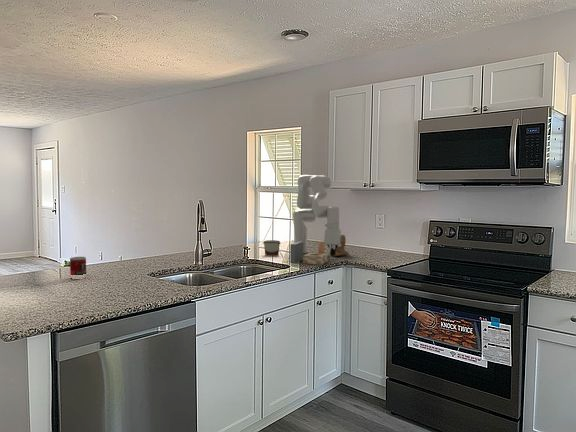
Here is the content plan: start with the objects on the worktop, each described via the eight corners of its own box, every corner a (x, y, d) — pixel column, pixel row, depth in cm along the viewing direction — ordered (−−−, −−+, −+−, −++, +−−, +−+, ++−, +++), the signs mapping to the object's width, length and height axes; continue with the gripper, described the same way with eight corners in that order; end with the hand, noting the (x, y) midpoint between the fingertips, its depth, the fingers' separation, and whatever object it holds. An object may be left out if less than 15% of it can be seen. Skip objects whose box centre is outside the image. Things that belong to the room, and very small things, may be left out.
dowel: (319, 259, 300) (319, 241, 299) (325, 259, 298) (325, 241, 297) (317, 260, 296) (317, 242, 296) (323, 260, 295) (323, 242, 294)
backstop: (299, 259, 299) (299, 241, 298) (303, 259, 297) (303, 241, 297) (290, 262, 286) (290, 244, 285) (294, 263, 285) (294, 244, 284)
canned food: (76, 280, 232) (75, 259, 231) (67, 278, 236) (66, 258, 235) (89, 278, 238) (89, 257, 237) (80, 276, 242) (80, 256, 242)
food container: (281, 254, 321) (281, 240, 320) (280, 255, 315) (280, 241, 314) (264, 253, 322) (264, 240, 321) (263, 255, 316) (263, 241, 315)
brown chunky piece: (338, 253, 326) (338, 232, 325) (351, 255, 317) (351, 234, 316) (324, 255, 316) (324, 234, 314) (337, 257, 307) (338, 235, 306)
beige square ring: (310, 260, 294) (310, 252, 294) (327, 261, 289) (327, 254, 289) (302, 263, 283) (302, 255, 283) (320, 264, 278) (320, 256, 278)
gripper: (319, 226, 279) (319, 255, 280) (342, 227, 273) (342, 257, 274) (323, 225, 286) (323, 254, 287) (346, 226, 280) (346, 255, 281)
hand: (332, 255), depth 281 cm, fingers closed
